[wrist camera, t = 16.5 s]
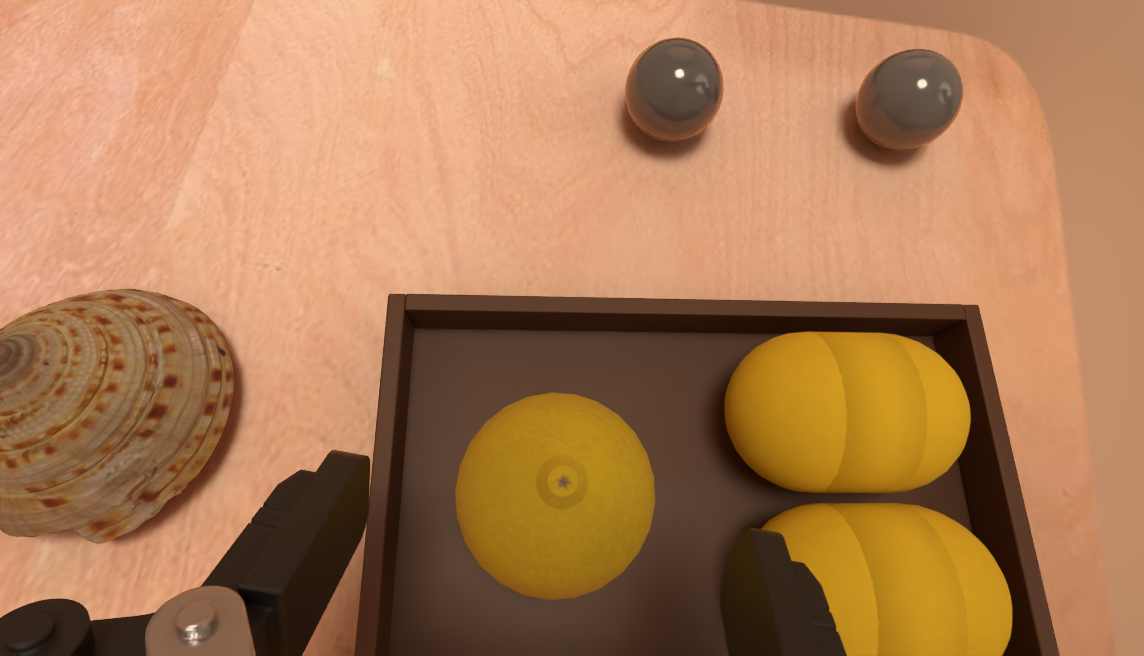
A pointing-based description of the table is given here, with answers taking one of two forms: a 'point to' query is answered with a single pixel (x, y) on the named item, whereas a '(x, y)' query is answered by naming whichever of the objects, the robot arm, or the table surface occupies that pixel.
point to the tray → (676, 454)
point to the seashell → (106, 411)
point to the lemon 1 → (555, 496)
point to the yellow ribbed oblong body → (846, 412)
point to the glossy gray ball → (909, 99)
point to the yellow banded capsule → (901, 579)
